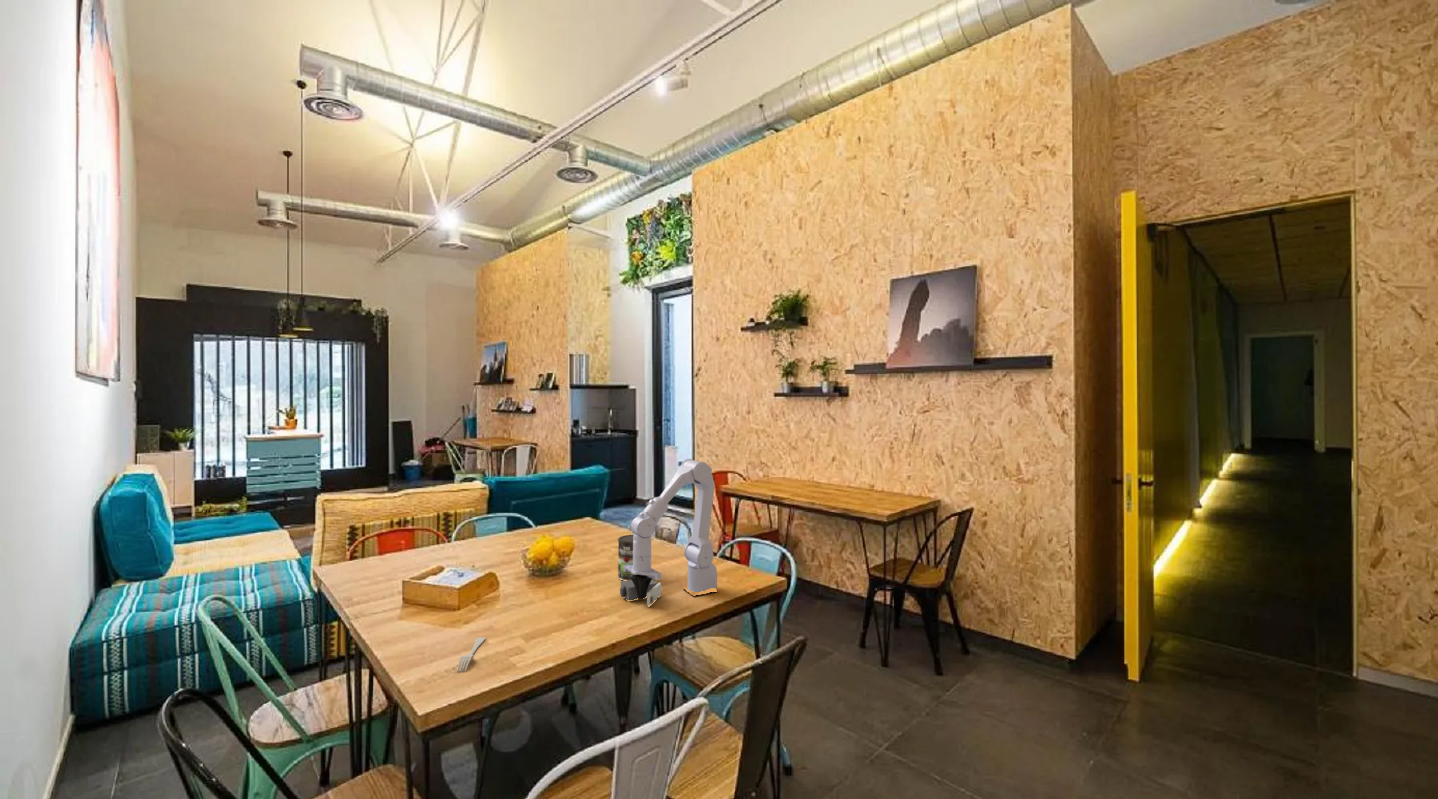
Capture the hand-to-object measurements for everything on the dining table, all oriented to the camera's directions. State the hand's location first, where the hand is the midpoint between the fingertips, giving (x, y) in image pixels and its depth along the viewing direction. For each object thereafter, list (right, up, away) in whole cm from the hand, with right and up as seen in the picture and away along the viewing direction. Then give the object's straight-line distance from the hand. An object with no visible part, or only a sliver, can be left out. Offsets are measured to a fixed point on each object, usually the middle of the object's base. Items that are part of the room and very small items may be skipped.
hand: (641, 598), depth 187 cm
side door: (+4, -2, +1) cm, 5 cm away
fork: (-39, -3, -36) cm, 53 cm away
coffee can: (-7, -1, +25) cm, 26 cm away
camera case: (-2, -2, +7) cm, 7 cm away
